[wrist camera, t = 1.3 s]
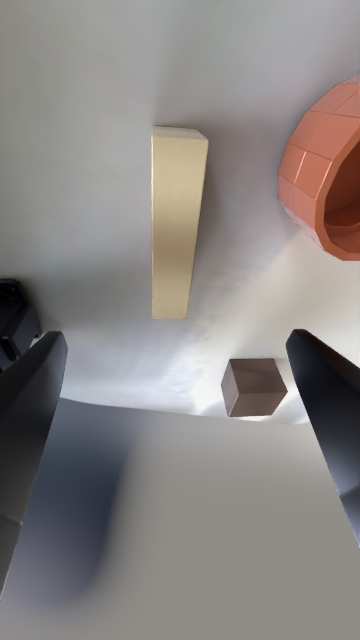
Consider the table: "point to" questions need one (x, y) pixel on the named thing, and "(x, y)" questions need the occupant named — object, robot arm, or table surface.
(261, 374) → the walnut block
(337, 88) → the plant pot
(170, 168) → the birch bar
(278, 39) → the table surface
